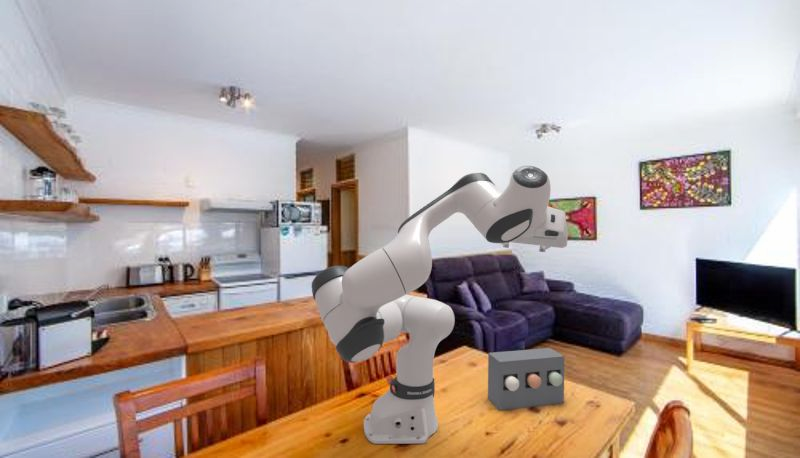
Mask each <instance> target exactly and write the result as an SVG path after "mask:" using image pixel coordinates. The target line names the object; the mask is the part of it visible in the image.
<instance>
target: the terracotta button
mask: <svg viewBox="0 0 800 458" xmlns="http://www.w3.org/2000/svg"><path fill="white" fill-rule="evenodd" d="M526 381H527V384H528V385H529V386H531V387H532V388H534V389H537V388H539V387H540V385H541V378H540V377H539V376H537V375H536V374H534V373H532V374H529V375H528V377H527V379H526Z"/></svg>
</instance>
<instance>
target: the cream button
mask: <svg viewBox="0 0 800 458" xmlns="http://www.w3.org/2000/svg"><path fill="white" fill-rule="evenodd" d="M504 384H505V386H506V387H507V388H508V389H509V390H510V391H515V390H517V389H518V387H519V381H518V380H517V379H516V378H515V377H514V376H508V377H506V379H505V381H504Z"/></svg>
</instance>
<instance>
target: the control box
mask: <svg viewBox="0 0 800 458" xmlns="http://www.w3.org/2000/svg"><path fill="white" fill-rule="evenodd" d="M487 354H488V355H487V357H488V359H487V360H488V361H487V365H488V366H487V367H488V369H487V399H488V400H489V401H490V402H491V403H492V405H493V406H494V407H495V408H496V409H497V410H498V411H507V410H515V409H524V408H532V407H540V406H548V405H556V404H557V405H559V404H564V403H565V397H564V396H565V355H563V354H561V353H560V352H558V351H556V350H554V349H552V348H551V347H544V348H534V349H533V348H531V349H521V350H519V349H518V350H507V351H495V352H488V353H487ZM553 371H555V372H557V373H559V374H560V375H561V376H562V378H563V381H562V384H561V385H560V386H554V385H552V384H551V383H550V382H549V381H548V375H549V374H550V373H551V372H553ZM532 373H534V374H536V375H537V376H539V377H540V378H541V385H540V387H539V388H537V389H534V388H532V387H531V386H529V385H528V384H527V381H526V379H527V377H528V375H529V374H532ZM508 376H514V377H515V378H516V379H517V380H518V381H519V387H518V389H517V390H515V391H510V390H509V389H508V388H507V387H506V386H505V384H504V381H505V379H506V377H508Z"/></svg>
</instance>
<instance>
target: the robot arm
mask: <svg viewBox="0 0 800 458" xmlns="http://www.w3.org/2000/svg"><path fill="white" fill-rule="evenodd" d="M550 180H551V179H549V176H548V174H547V173H546V172H545V171H543V170H542V169H541V168H538V167H536V166H532V165H522V166H519V167H517V168H515V169H514V170H513V172H512V173H511V176H510V179H509V183H508V185H507V186H506V188H505V189H504V191H503V192H502V191H501V190H500V189H499V188H498V187H497V186H496V184H495V183H494V182H493V181H492V180H491V179H490V177H489V176H488V175H487V174H485V173H483V172H473V173H472V172H471V173H468V174H465V175H464V176H462V177H461V178H459V179H458V180H457V181H456V182H455V183H454V184H453V185H452V186H451V187H450V188H449V189H448V190H446V191H444V192H442V194H440V195H439V196H438V197H436V198H434V199H433V200H431V201H430V202H429V203H428V204H426V205H424V206H423V207H422V208H421V207H420V209H419V210H417V211H416V212H415V213H413V214H411V215H410V216H409V217H408V218H406V219H405V220H404V221H403V222H402V223H401V225H399V227H398V230H397V234H396V236H395V237H394V238H392V240H391V241H390V242H388V243H386V244H385V245H384V246H382V247H381V248H378V249H376V250H374V251H372V252H371V253H369V254H367V255H366V256H364V257H363V258H361V259H360V260H358V261H357V262H356V263H354V264H353V265H352V266H350V267H348V266H345V265H333V266H329V267H327V268H324V269H323V270H321V271H320V272H319V273H317V274H316V276H314V278H313V280H312V281H311V293H312V297H313V300H315V304H316V306H317V310H318V313H319V316H320V319H321V321H322V324H323V325H324V327H325V330H326V331H327V333H328V337H329V339H330V342H331V343H332V344H333V345H334V346H335V351H336V352H337V353H338V355H339V356H340V358H341V359H342V360H343V361H344V362H346V363H351V364H354V363H359V362H363V361H366V360H369V359H370V358H371V357H373V356H374V355H376V353H378V351H379V350H380V349H381V348H382V346H383V344H384V343H388V342H391V341H394V340H395V339H397V338H398V336H399V335H400V333H406V334H407V333H408V334H409V341H408V343H407V344H404V345H402V346H401V347H400V349H399V350H398V351H397V353H396V376H394V378H393V376H392V375H388V376H387V377H386V378H385V379H386V382H387V384H388V385H389V390H387V391H386V392H385V393H384V394H382V395H381V396H380V397H378V398H377V399H376V400H375V401H374V402H373V405H372V407H371V412H370V413H368V414H367V415H366V416H365V417H364V419H363V426H362V427H363V432H364V435H365V438H366V439H367V440H368V441H369V442H370V443H371V444H373V445H374V444H381V445H386V444H393V445H394V444H396V445H397V444H399V445H400V444H402V445H403V444H407V445H409V444H426V443H427V442H428V440H429V438H430V437H431V436H432V435H433V434H435V433H436V432H437V431H438V429H439V422H438V419H437V415H436V409H435V400H434V398H435V392H436V385H435V378H434V361H435V360H434V358H435V353H436V350H437V347H438V345H439V343H440V342H442V341H443V340H444V339H446V338H447V337H448V336H449V335H450V334H451V333H452V331H453V330H454V327H455V321H456V320H455V319H456V318H455V313H454V311H453V309H452V307H451V306H450V305H448V304H446V303H444V302H443V301H439V300H437V299H434V298H427V297H423V296H416V295H411V294H409V293H412V292H413V291H415V290H417V289H419V288H420V287H422V285H424V284H425V283H426V282H427V281H428V279H429V277H430V275H431V271H432V269H433V268H432V267H433V258H432V250H431V246H430V241H429V236H430V233H431V232H432V230H433V229H434V228H436V227H438V226H439V225H440V224H442V223H443V222H445V221H446V220H447V219H448V218H450V217H451V216H453V215H454V214H456V213H457V214H458V213H460V214H463V215H464V216H465V217H466V218H467V220H468V221H469V222H470V223H472V225H473V226H474V228H475V229H476V230H477V231H478V232H479V233H480V234H481V236H482V237H483V238H484V239H486V241H487V242H489V243H492V244H501V245H502V247H503V248H506V249H508V248H509V247H510V243H513V244H523V245H533V246H539V249H538V251H539V252H541V253H546V250H548V249H550V248H557V249H558V248H560V249H562V248H563V249H564V248H566V247H567V245H568V238H569V237H568V235H569V234H568V232H569V230H568V229H569V228H568V227H569V226H568V222H567V220H566V219H567V218H566V211H564V210H562V209H557V208H555V207H551V206H549V204H550V197H551V181H550Z"/></svg>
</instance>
